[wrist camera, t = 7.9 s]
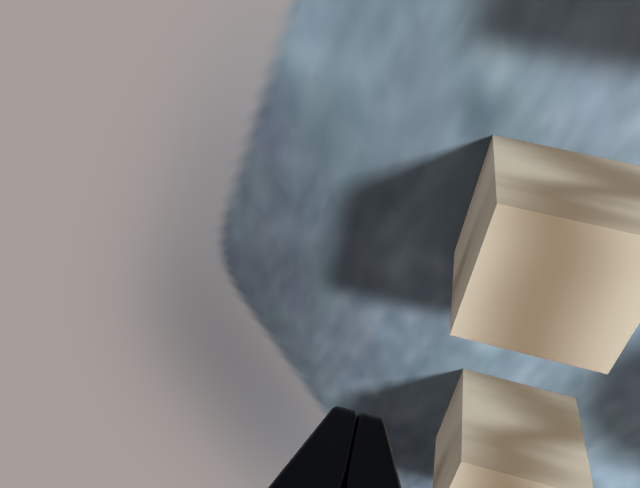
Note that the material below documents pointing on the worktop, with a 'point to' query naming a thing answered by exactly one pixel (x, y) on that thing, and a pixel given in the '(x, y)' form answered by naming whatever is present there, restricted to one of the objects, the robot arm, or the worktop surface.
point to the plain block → (550, 255)
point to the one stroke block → (509, 437)
